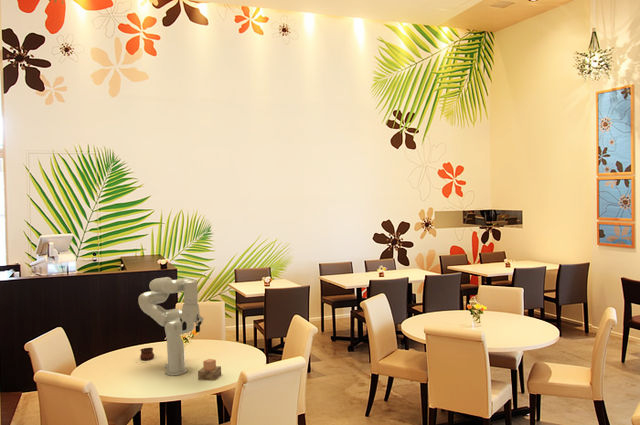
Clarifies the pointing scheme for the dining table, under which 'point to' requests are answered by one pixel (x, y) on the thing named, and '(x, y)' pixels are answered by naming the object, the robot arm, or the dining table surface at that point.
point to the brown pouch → (147, 354)
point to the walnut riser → (209, 374)
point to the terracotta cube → (209, 364)
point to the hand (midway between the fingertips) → (191, 331)
